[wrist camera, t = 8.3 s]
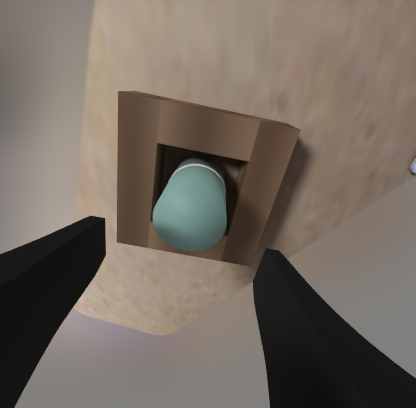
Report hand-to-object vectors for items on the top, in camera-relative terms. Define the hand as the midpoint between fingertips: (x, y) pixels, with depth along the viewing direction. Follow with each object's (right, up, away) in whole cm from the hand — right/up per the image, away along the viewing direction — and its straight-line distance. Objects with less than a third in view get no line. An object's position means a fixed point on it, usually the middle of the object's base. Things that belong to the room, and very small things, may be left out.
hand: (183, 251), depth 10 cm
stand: (0, +4, +8) cm, 9 cm away
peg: (0, +4, +8) cm, 9 cm away
